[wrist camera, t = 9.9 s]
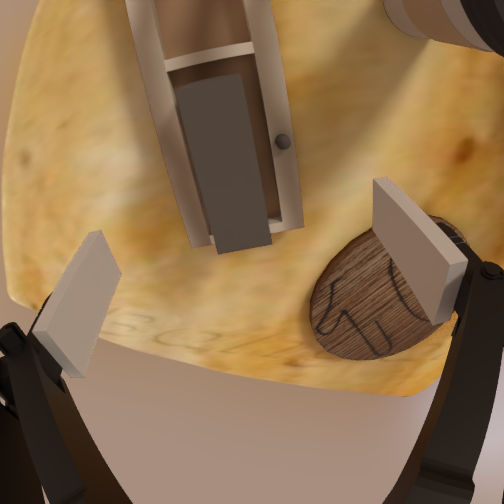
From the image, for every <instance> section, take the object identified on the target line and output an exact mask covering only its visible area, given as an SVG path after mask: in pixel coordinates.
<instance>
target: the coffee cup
mask: <svg viewBox="0 0 504 504" xmlns="http://www.w3.org/2000/svg"><path fill="white" fill-rule="evenodd" d="M383 3H384V7H385V10H386V13H387V15H388V17H389V18H390V20H391V21H392V23H393V24H394V25H395V26H396V27H397V28H398V29H399V30H401V31H402V32H404V33H406V34H408V35H410V36H413V37H420V38H428V39H433V40H435V41H439V42H444V43H450V44H455V45H460V46H464V47H469V48H473V49H477V50H481V51H486V52H496V53H497V54H499V55H501V56H503V57H504V0H383Z"/></svg>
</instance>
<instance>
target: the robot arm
mask: <svg viewBox="0 0 504 504" xmlns="http://www.w3.org/2000/svg"><path fill="white" fill-rule="evenodd" d="M372 230H373V231H374V233H375V234H376V235H377V237H378V238H379V240H380V241H381V243H382V244H383V246H384V247H385V249H386V250H387V252H388V253H389V255H390V256H391V258H392V259H393V261H394V262H395V264H396V266H397V267H398V269H399V270H400V272H401V273H402V275H403V277H404V278H405V280H406V281H407V283H408V285H409V286H410V288H411V289H412V291H413V293H414V294H415V296H416V298H417V299H418V301H419V303H420V304H421V306H422V308H423V309H424V311H425V313H426V315H427V316H428V318H429V320H430V322H431V323H432V325H436V324H440V323H443V322H446V321H449V320H450V318H451V315H452V312H453V309H454V310H455V311H456V313H457V314H458V319H457V322H456V324H455V327H454V329H453V332H452V334H451V336H453V337H452V341H451V345H450V349H449V352H448V356H447V359H446V362H445V366H444V369H443V372H442V375H441V379H440V381H439V385H438V388H437V390H436V393H435V396H434V399H433V401H432V404H431V407H430V409H429V412H428V415H427V417H426V420H425V422H424V425H423V427H422V429H421V432H420V434H419V436H418V439H417V441H416V443H415V446H414V448H413V450H412V452H411V454H410V456H409V458H408V460H407V463H406V465H405V467H404V468H403V471H402V473H401V474H400V476H399V478H398V480H397V482H396V484H395V485H394V487H393V489H392V491H391V492H390V493H389V495H388V496H387V498H386V499H385V501H384V502H383V503H382V504H470V502H471V500H472V497H473V493H474V488H475V485H474V482H473V480H472V478H473V473H474V470H475V467H476V464H477V461H478V458H479V455H480V452H481V449H482V446H483V443H484V439H485V435H486V432H487V428H488V424H489V421H490V417H491V413H492V408H493V404H494V399H495V395H496V390H497V384H498V379H499V373H500V367H501V360H502V352H503V348H504V270H503V269H502V268H501V267H500V266H499V265H497V264H495V263H492V262H487V261H484V262H482V260H481V259H480V258H479V257H478V256H477V255H476V254H475V253H474V251H473V250H472V249H471V248H470V247H469V246H468V245H467V244H466V243H464V241H463V240H462V238H461V237H458V234H457V233H456V232H455V231H454V230H453V229H452V228H451V227H449V226H447V225H445V224H444V223H442V222H439V223H434V222H433V221H432V220H431V219H430V218H429V216H428V215H427V214H426V213H425V212H424V211H423V210H422V209H421V208H420V207H419V206H418V205H417V204H416V203H415V202H414V201H413V200H411V199H410V198H409V197H408V196H407V195H406V194H405V193H404V192H403V191H402V190H401V189H400V188H399V187H398V186H397V185H396V184H395V183H394V182H392V181H391V180H390V179H389V178H388V177H383V178H375V179H373V222H372ZM121 274H122V273H121V271H120V269H119V267H118V265H117V263H116V261H115V259H114V257H113V254H112V252H111V250H110V248H109V246H108V244H107V242H106V239H105V237H104V235H103V233H102V230H99V231H95V232H91V233H89V234H88V235H87V237H86V238H85V240H84V241H83V243H82V244H81V246H80V247H79V249H78V251H77V252H76V254H75V255H74V257H73V259H72V260H71V262H70V263H69V265H68V267H67V268H66V270H65V272H64V273H63V275H62V277H61V279H60V280H59V282H58V284H57V285H56V287H55V289H54V291H53V292H52V293H51V294H50V295H49V296H48V298H47V299H46V300H45V302H44V304H43V306H42V307H41V308H42V309H40V311H39V313H38V316H37V317H36V319H35V321H34V322H33V325H32V326H31V329H30V330H29V333H28V334H27V336H26V335H25V334H24V332H23V331H22V330H21V329H20V327H19V326H18V325H17V323H15V322H11V323H8V324H6V325H4V326H3V327H2V328H1V329H0V351H1V352H2V353H3V354H4V355H5V356H3V357H1V358H0V397H1V398H3V399H4V400H5V406H4V405H3V404H1V402H0V504H45V501H44V496H43V491H42V487H43V489H44V492H45V494H46V496H47V499H48V501H49V503H50V504H133V503H132V502H131V500H130V499H129V497H128V496H127V495H126V493H125V492H124V490H123V489H122V487H121V486H120V484H119V483H118V481H117V479H116V478H115V476H114V475H113V473H112V472H111V470H110V468H109V467H108V465H107V464H106V462H105V460H104V458H103V457H102V455H101V453H100V451H99V450H98V448H97V446H96V444H95V443H94V441H93V439H92V437H91V435H90V434H89V432H88V429H87V428H86V426H85V424H84V422H83V420H82V418H81V416H80V413H79V411H78V410H77V407H76V405H75V403H74V401H73V399H72V396H71V395H70V392H69V390H68V388H67V385H66V383H65V381H64V379H62V377H61V376H60V375H61V372H62V369H63V370H64V371H65V372H66V373H67V374H68V375H69V376H70V377H71V378H85V375H86V372H87V369H88V365H89V363H90V359H91V356H92V353H93V350H94V347H95V344H96V341H97V338H98V335H99V333H100V330H101V327H102V324H103V321H104V319H105V316H106V313H107V310H108V308H109V305H110V302H111V300H112V297H113V295H114V292H115V289H116V287H117V284H118V282H119V279H120V277H121ZM41 485H42V486H41ZM502 504H504V492H503V498H502Z"/></svg>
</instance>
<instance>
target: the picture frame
mask: <svg viewBox="0 0 504 504" xmlns="http://www.w3.org/2000/svg"><path fill="white" fill-rule="evenodd" d="M175 93H176V98H177V102H178V106H179V110H180V114H181V118H182V122H183V126H184V130H185V133H186V137H187V141H188V145H189V149H190V153H191V157H192V160H193V164H194V168H195V172H196V176H197V179H198V183H199V187H200V190H201V194H202V198H203V201H204V205H205V209H206V212H207V216H208V219H209V223H210V227H211V230H212V234H213V237H214V241H215V244H216V248H217V251H218V254H223V253H228V252H234V251H239V250H244V249H249V248H255V247H260V246H265V245H271V244H272V240H271V234H270V228H269V222H268V217H267V211H266V205H265V200H264V194H263V188H262V183H261V177H260V172H259V166H258V161H257V155H256V150H255V145H254V139H253V134H252V129H251V124H250V118H249V113H248V108H247V103H246V98H245V92H244V87H243V82H242V77H241V75H240V74H239V73H231V74H226V75H221V76H217V77H212V78H207V79H203V80H199V81H194V82H190V83H188V84H186V85H184V86H183V87H181V88H179V89H177V90H175Z"/></svg>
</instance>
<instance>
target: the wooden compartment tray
mask: <svg viewBox="0 0 504 504" xmlns="http://www.w3.org/2000/svg"><path fill="white" fill-rule="evenodd" d="M125 2H126V7H127V12H128V17H129V22H130V26H131V31H132V35H133V40H134V44H135V49H136V53H137V57H138V62H139V66H140V70H141V74H142V78H143V82H144V86H145V90H146V94H147V98H148V102H149V106H150V110H151V113H152V117H153V121H154V125H155V128H156V132H157V135H158V139H159V143H160V146H161V150H162V153H163V157H164V160H165V164H166V167H167V170H168V174H169V177H170V181H171V184H172V187H173V190H174V194H175V197H176V200H177V204H178V207H179V210H180V213H181V216H182V219H183V223H184V226H185V229H186V232H187V235H188V238H189V241H190V244H191V247H192V248H197V247H202V246H207V245H212V244H215V241H214V237H213V234H212V230H211V227H210V223H209V219H208V216H207V212H206V209H205V205H204V201H203V198H202V194H201V190H200V187H199V183H198V179H197V176H196V172H195V168H194V164H193V160H192V157H191V153H190V149H189V145H188V141H187V137H186V133H185V130H184V126H183V122H182V118H181V114H180V110H179V106H178V102H177V98H176V93H175V90H177V89H179V88H181V87H183V86H184V85H186V84H188V83H190V82H194V81H199V80H203V79H207V78H212V77H217V76H221V75H226V74H231V73H239V74H240V75H241V77H242V82H243V87H244V92H245V98H246V103H247V108H248V113H249V118H250V124H251V129H252V134H253V139H254V145H255V150H256V155H257V161H258V166H259V172H260V177H261V183H262V188H263V194H264V200H265V205H266V211H267V217H268V222H269V228H270V233H276V232H281V231H287V230H292V229H298V228H303V227H304V218H303V209H302V200H301V191H300V182H299V174H298V166H297V158H296V151H295V143H294V136H293V129H292V122H291V115H290V108H289V102H288V95H287V89H286V83H285V77H284V71H283V65H282V59H281V53H280V48H279V42H278V37H277V32H276V26H275V21H274V16H273V11H272V6H271V1H270V0H125Z"/></svg>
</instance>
